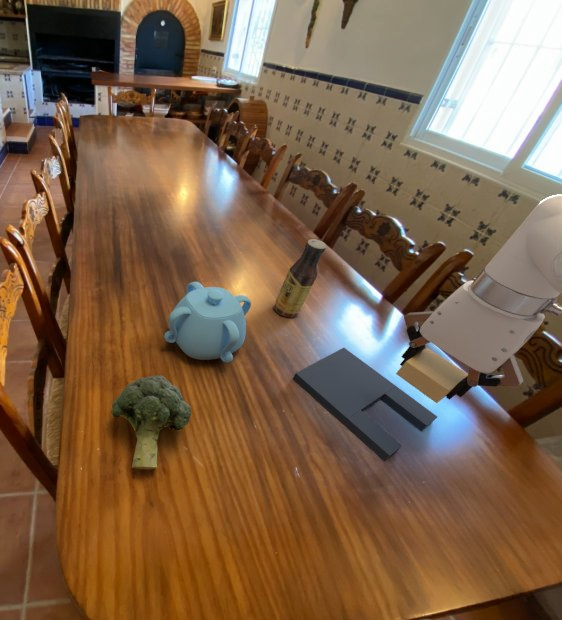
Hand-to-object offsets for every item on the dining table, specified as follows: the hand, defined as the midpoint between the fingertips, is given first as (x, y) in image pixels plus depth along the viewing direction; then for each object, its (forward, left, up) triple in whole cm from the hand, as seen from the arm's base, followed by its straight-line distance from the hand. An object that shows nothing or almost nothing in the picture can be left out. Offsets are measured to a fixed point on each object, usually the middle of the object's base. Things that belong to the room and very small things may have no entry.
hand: (428, 377), depth 58 cm
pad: (0, 0, -1) cm, 1 cm away
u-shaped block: (+6, 0, -13) cm, 14 cm away
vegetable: (+19, +41, -13) cm, 47 cm away
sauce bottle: (+32, -8, -13) cm, 35 cm away
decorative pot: (+33, +18, -13) cm, 40 cm away
